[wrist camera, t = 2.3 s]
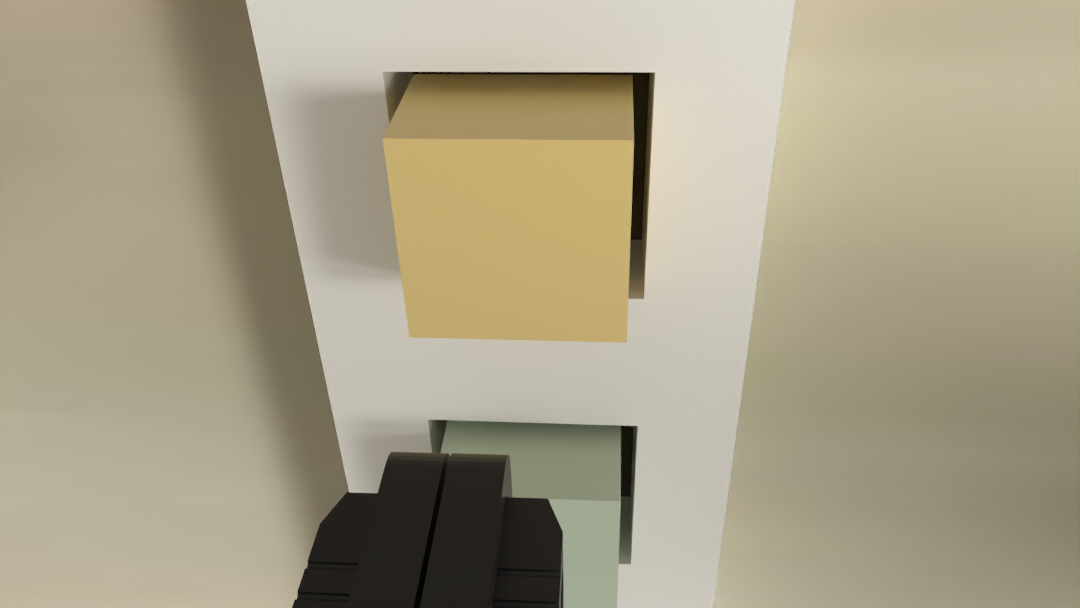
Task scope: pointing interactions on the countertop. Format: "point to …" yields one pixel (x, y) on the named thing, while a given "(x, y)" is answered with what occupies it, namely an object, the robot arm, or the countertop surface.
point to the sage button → (563, 491)
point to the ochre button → (513, 205)
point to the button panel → (655, 261)
